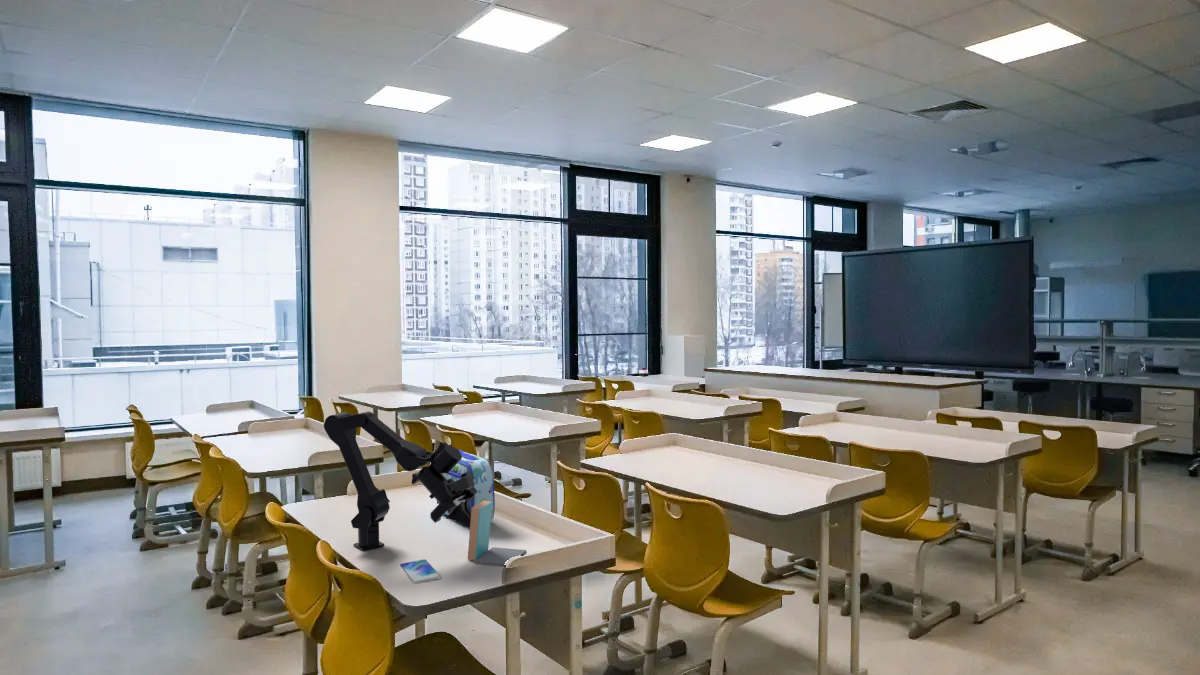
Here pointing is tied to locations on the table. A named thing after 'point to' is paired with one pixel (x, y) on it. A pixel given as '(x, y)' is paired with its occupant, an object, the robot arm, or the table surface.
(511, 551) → the rubber mat
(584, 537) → the table surface
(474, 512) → the glazed tile
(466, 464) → the lunch box
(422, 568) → the smartphone
